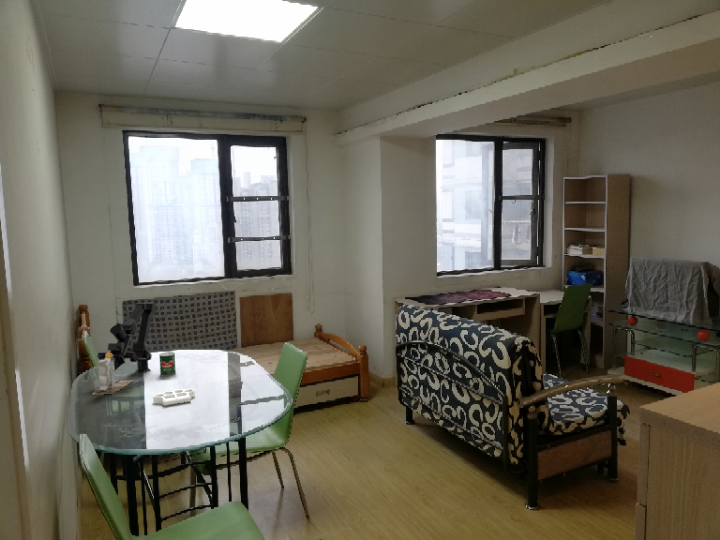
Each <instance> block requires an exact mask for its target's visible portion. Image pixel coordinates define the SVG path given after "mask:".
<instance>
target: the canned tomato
mask: <svg viewBox="0 0 720 540" xmlns="http://www.w3.org/2000/svg"><path fill="white" fill-rule="evenodd" d="M175 354H176V353H175V351H174V352H173V351H169V352H162V353H160V354H158V355H159V369H160V370H159V371H160V372H159V373H160V376H161V377H167V376H173V375H175V374H176V373H177V372H176V371H177V370H176V355H175Z"/></svg>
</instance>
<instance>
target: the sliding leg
mask: <svg viewBox="0 0 720 540" xmlns="http://www.w3.org/2000/svg"><path fill="white" fill-rule="evenodd" d="M112 356H113V355H112V353H111V352H110V351H108V352H107V353H106V355H105V357H106V358H105V360H108V375H109V387H111V386H114V385H116V384H115V381H116V370H115V369H114V357H112Z"/></svg>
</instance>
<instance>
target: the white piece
mask: <svg viewBox="0 0 720 540" xmlns="http://www.w3.org/2000/svg"><path fill="white" fill-rule="evenodd" d="M192 397H193V398H195V389H194V388H186V389H185V388H184V389H174V390H166V391H164V392H162V393H156V394H154V395H152V400H153V401H152V402H153V404H155V403H158V404H157V405H159V403H162V404H161V405H162V406H163V405H164V406H163V407H166V406H172V405H178V403H179V404H185V403H191V402H192V400H191V399H193V398H192ZM190 401H191V402H190ZM184 402H185V403H184Z"/></svg>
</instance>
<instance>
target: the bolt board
mask: <svg viewBox="0 0 720 540" xmlns="http://www.w3.org/2000/svg"><path fill="white" fill-rule="evenodd" d="M97 366H98V380H99V381H98V383H99V387H98V388H96V389H94V392H92V393H91V395H92V396H102V395H103V396H104V394H113V393H114V394H116V393H117V392H116V391H118V390H119V391H121V390H123V389H124V388H125V386H126V387H128V386H129V385H131V384H132V383H134V380H121V379H115V384H116V385H114V386H111V387H109V375H108V360H98V361H97ZM130 383H131V384H130ZM120 389H121V390H120ZM119 391H118V392H119ZM115 392H116V393H115ZM114 394H113V395H114Z"/></svg>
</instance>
